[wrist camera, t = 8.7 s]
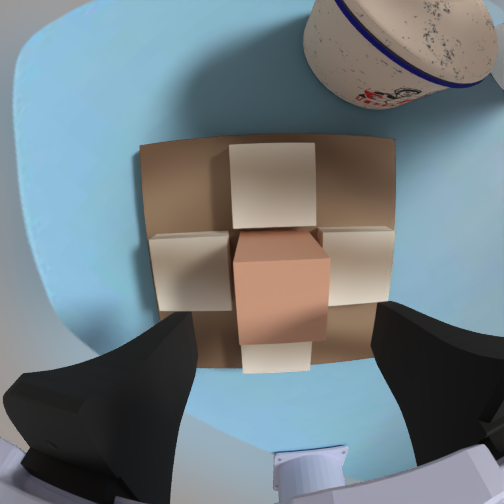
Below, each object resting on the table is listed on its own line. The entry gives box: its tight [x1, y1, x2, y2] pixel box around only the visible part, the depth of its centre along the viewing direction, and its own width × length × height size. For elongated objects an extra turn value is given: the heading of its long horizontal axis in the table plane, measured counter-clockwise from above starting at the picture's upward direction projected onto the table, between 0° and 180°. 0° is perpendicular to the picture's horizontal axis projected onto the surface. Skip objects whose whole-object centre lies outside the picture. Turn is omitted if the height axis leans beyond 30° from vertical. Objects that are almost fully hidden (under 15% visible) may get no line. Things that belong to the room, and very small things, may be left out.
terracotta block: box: [233, 229, 331, 345], centre depth 15 cm, size 4×4×6 cm
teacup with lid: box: [303, 0, 498, 110], centre depth 9 cm, size 12×9×12 cm
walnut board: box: [140, 134, 396, 374], centre depth 18 cm, size 16×16×2 cm
